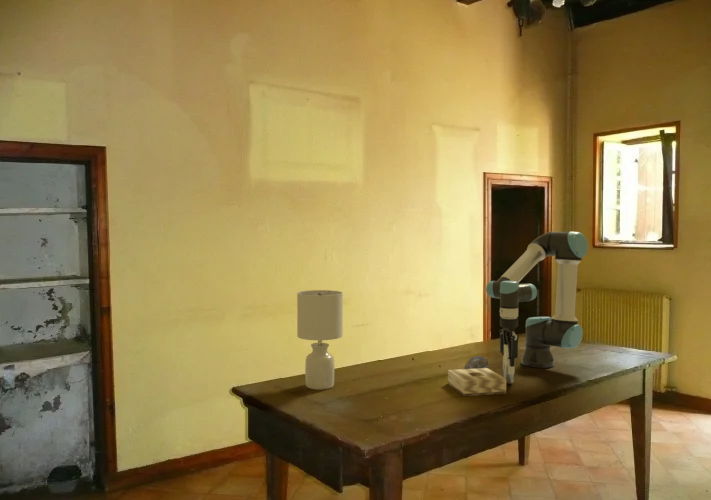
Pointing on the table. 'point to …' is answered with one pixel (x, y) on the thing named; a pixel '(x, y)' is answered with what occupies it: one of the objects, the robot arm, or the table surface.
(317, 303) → the lamp
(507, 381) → the pin
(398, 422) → the table surface
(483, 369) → the bore block
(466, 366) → the rock
